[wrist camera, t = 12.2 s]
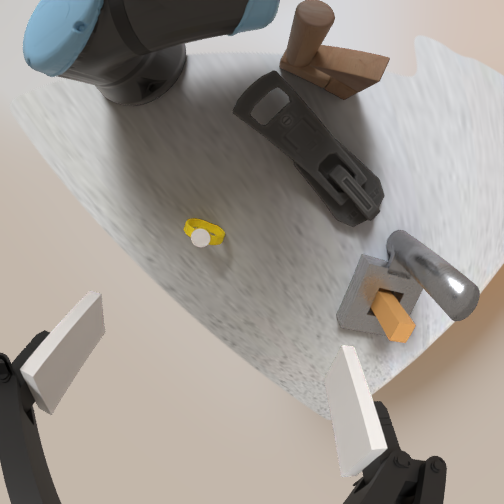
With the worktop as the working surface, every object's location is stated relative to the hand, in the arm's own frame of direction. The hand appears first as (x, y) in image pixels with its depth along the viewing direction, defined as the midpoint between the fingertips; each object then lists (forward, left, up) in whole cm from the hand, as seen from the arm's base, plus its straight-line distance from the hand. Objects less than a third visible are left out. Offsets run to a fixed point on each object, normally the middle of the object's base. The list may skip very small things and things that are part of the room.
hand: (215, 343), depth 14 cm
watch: (+4, -5, -31) cm, 32 cm away
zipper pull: (-11, +7, -31) cm, 34 cm away
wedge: (+8, +25, -31) cm, 41 cm away
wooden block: (-23, +5, -31) cm, 39 cm away
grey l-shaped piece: (+5, +26, -31) cm, 40 cm away
